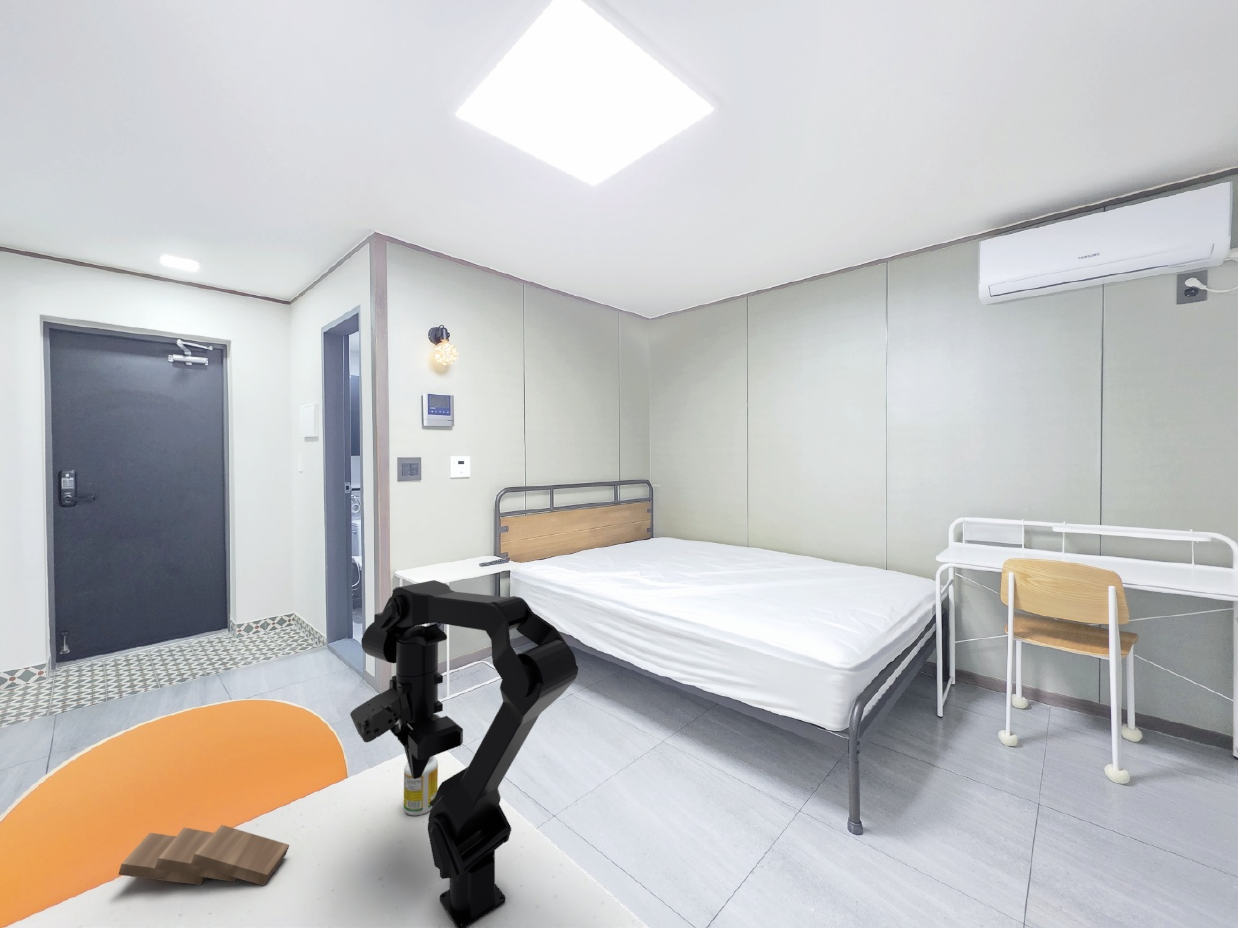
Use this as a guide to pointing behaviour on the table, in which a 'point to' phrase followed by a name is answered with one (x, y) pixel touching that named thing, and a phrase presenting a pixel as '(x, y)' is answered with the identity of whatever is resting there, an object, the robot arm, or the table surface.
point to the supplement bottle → (420, 788)
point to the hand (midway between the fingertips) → (416, 776)
